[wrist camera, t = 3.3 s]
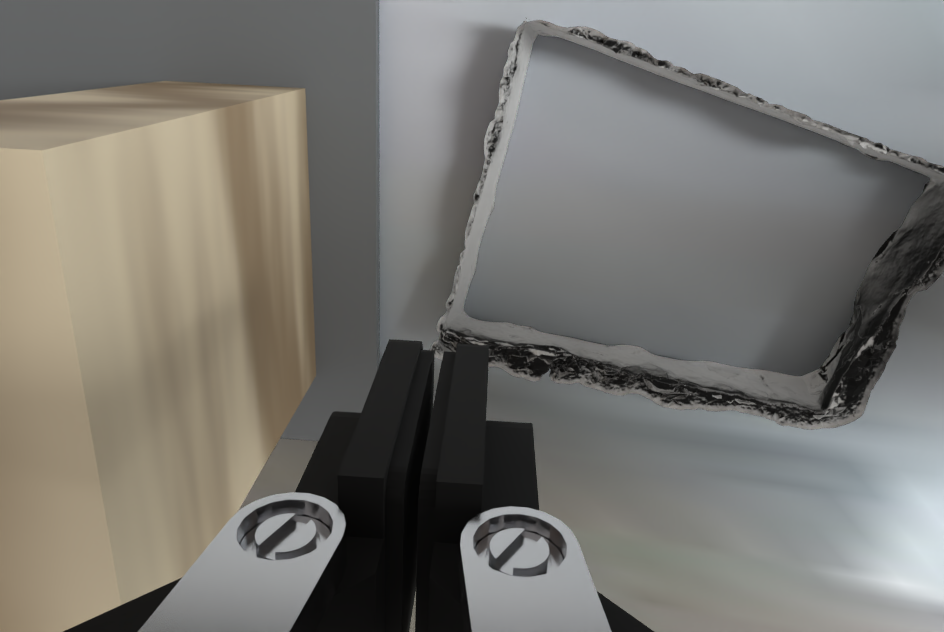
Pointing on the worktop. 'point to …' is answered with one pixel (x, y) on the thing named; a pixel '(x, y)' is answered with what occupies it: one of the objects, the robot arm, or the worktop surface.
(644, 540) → the worktop surface
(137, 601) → the robot arm
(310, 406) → the rubber mat
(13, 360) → the maple plaque
